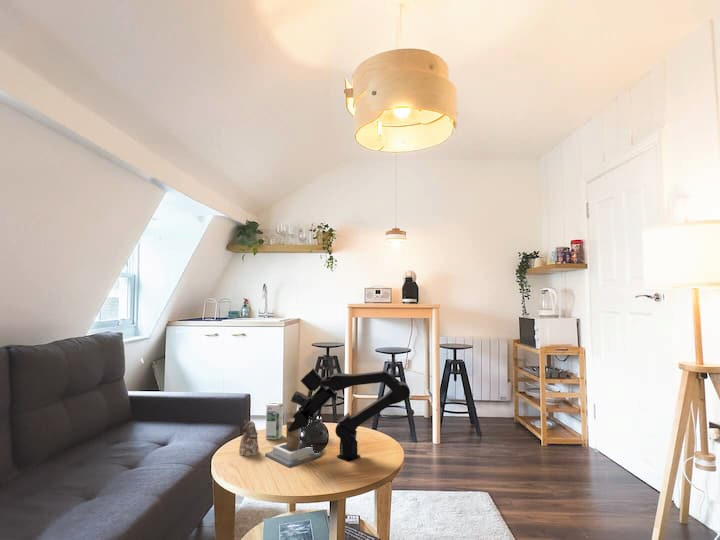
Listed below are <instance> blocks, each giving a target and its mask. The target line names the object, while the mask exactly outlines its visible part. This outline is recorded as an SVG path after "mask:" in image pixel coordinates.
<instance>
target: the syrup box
mask: <svg viewBox="0 0 720 540" xmlns="http://www.w3.org/2000/svg"><path fill="white" fill-rule="evenodd" d="M265 407H266V413H265V415H266V417H265V419H266V420H265V422H266V423H265V439H266V440H276V441H278V440H280V438H282V437H283V425H284V424H283V422H284V420H283V419H284V418H283V417H284V402H283V401H282V402H280V401H279V402H277V401H276V402H275V401H270V402H269V403H267V404H266V406H265Z"/></svg>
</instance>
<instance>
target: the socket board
mask: <svg viewBox="0 0 720 540" xmlns="http://www.w3.org/2000/svg"><path fill="white" fill-rule="evenodd" d="M314 451H315V450H314ZM314 451H313V447H305V448H302V449H286V442H283V443H280V444H277V445H274V446H272V451H269V452H265V453H264V456H265V458H266V457H267V458H268V459H270V460H273V461H274V462H276V463H278V464H281V465H283V466H285V467H287V468H290V467H293V466H296V465H300V464H301V463H305V462H308V461H311V460H314V459H315V458H319V457H321V456H322V453H321V452H319V453H314Z"/></svg>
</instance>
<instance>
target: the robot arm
mask: <svg viewBox="0 0 720 540" xmlns="http://www.w3.org/2000/svg"><path fill="white" fill-rule="evenodd" d="M300 382H301V383H302V384H303V386H304V387H305V388H306V389H307V390H308V391H310V392H314V393H313V394H312V395H310V396H307V395H306V394H304V393H302V392H300V391H297V390H295V392H294V393H293V395H292V397H291V400H290V401H291V402H292V403H293V404H294V403H295V404H296V405H297V404H299V405H301V407H300V408H299V410H298V411H297V410H296V412H295V413H294V414H293V416H292V418H295V420H294V421H293V423H292V424H291V426H290V427H289V429H288V431H289V432H292V431H294V430H297V429H299V428H302V427H303V428H306V427H307V426H308V425H309V423H310V418H312V419H313V418H314V417H315V415H316V414H317V413H319V412H320V411H321V410H322V408H323V407H324V406H325V405H326V404H327V403H328V402H329V401H330V400H331V399H333V400H334V401H337V399H338V391H342V390H344V389H347V388H350V387H353V386H361V385H362V386H363V385H371V384H379V383H380V384H381V383H383V384H384V385H385V386H386V387H387V388H388V389H389V390H388V391H387V392H386V394H384V395H383V396H381V397H379V398H378V399H376V400H375V401H374V402H372V403H370V404H369V405H367V406H366V407H364V408H363V409H361V410H359V411H358V412H356V413H354V414H352V415H351V414H350V412H347V413H346V414H345V415H344V416H340V417H339V420H338V421H337V422H336V423H337V424H336V428H335V430H334V431H335V434H336V437H338V438H339V454H338V455H336V457H337V458H339V459H341V460H344V461H347V462H350V461H353V460H356V459H359V458H361V454H358V440H357V433H358V430H357V429H358V427H360V425H362V424H364V423H365V422H366V421H368V420H369V419H371V418H373V417H374V416H376V415H377V414H379V413H381V412H382V411H384V410H385V409H387V408H389V407H390V406H392V405H396V404H400V403H401V402H404V401H406V400H407V399H409V397H410V394H411V391H410V387H409V385H408V383H406V382H405V381H400V380H399V379H398V378H397V377H395V376H393V375H391V373H389V371H387V370H381V371H373V372H372V371H371V372H363V373H357V374H356V373H355V374H351V373H350V374H349V373H344V372H343V373H342V372H335V373H333V374H332V375H330V376H324V377H322V375H320V374H319V373H318V372H317V370H316V369H315V368H312V369H311V370H310V371H309V372H307V374H305V375H304V376H303V377H302V378H301V380H300ZM315 391H316V392H315ZM309 416H310V417H309Z"/></svg>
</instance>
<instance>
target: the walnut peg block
mask: <svg viewBox="0 0 720 540" xmlns="http://www.w3.org/2000/svg"><path fill="white" fill-rule="evenodd" d="M294 420H295V418H294V417H292V418H291V417H290V418H288V419H287V420H286V431H285V432H286V437H285V439H286V441H285V443H286V449H299V447H300V436H301V428H299V429H297V430H294V431H292V432H289V431H288V429H289V427H290V426H291V424H292V423H293V421H294Z"/></svg>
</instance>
